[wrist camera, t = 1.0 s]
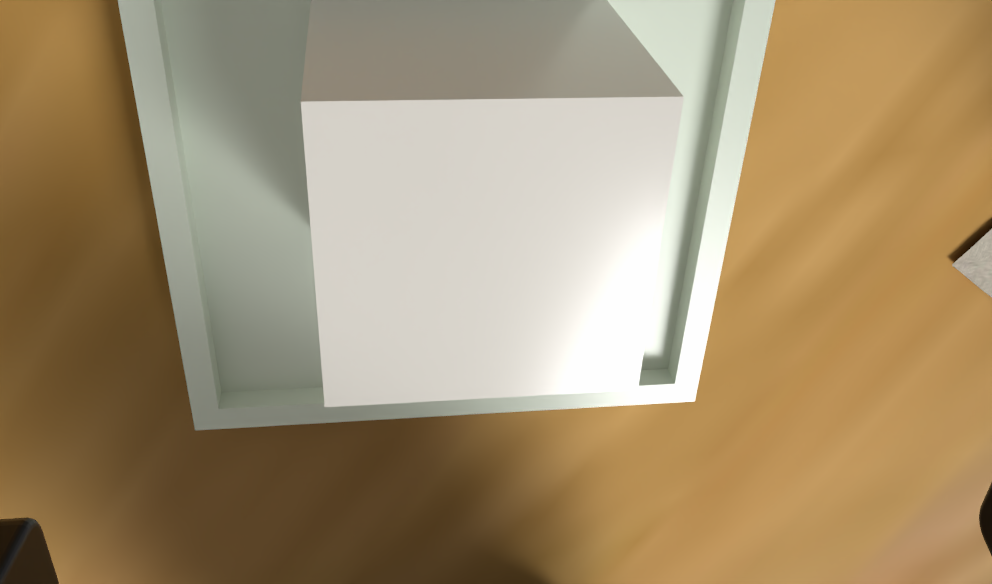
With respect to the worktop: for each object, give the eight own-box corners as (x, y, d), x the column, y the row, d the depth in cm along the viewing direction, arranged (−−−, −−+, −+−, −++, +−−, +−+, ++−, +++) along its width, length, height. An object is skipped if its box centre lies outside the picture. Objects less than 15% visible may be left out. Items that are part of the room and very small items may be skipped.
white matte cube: (574, 235, 17) (637, 390, 14) (328, 243, 17) (324, 407, 13) (599, -10, 15) (684, 96, 11) (312, -10, 14) (299, 102, 11)
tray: (680, 371, 20) (694, 401, 19) (201, 397, 19) (195, 430, 18) (801, -280, 14) (830, -276, 13) (81, -310, 12) (62, -309, 12)
